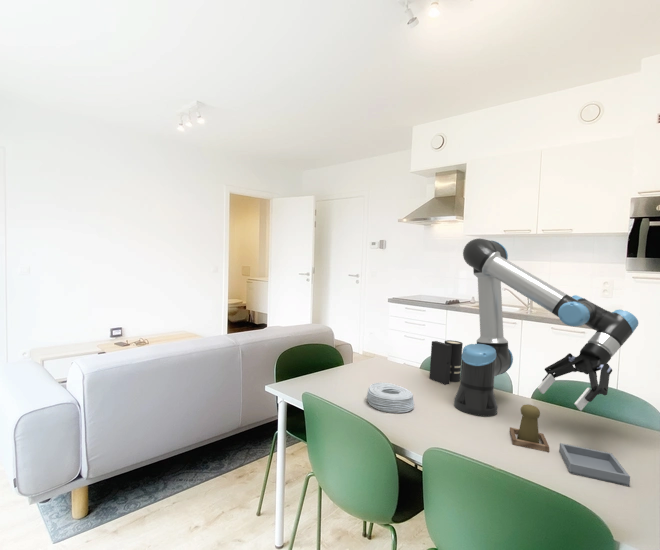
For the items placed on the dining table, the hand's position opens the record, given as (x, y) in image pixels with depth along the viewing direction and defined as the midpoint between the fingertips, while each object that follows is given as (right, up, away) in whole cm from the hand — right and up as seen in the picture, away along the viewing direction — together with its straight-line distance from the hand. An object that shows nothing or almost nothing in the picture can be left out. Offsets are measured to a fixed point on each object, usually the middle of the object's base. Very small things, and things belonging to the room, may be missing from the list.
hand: (557, 398), depth 113 cm
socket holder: (-10, -13, -1) cm, 16 cm away
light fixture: (-16, -11, +58) cm, 61 cm away
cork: (-10, -13, -1) cm, 16 cm away
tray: (0, -14, -14) cm, 20 cm away
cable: (-48, -10, +23) cm, 55 cm away
